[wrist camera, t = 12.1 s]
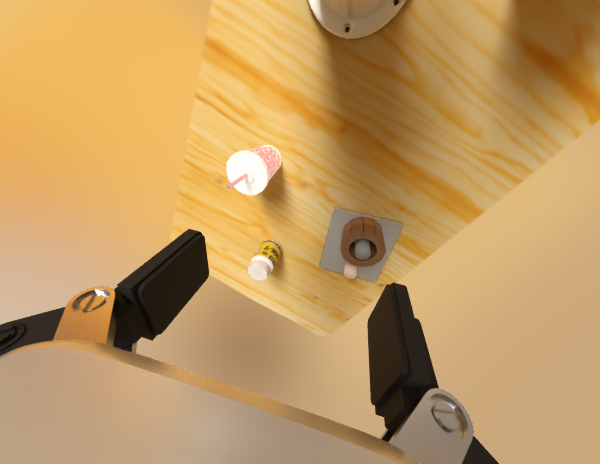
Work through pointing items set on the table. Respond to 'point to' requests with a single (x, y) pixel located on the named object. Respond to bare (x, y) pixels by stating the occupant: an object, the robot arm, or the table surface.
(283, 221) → the table surface
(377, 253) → the ring
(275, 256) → the supplement bottle
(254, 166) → the beverage cup
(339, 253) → the post board
